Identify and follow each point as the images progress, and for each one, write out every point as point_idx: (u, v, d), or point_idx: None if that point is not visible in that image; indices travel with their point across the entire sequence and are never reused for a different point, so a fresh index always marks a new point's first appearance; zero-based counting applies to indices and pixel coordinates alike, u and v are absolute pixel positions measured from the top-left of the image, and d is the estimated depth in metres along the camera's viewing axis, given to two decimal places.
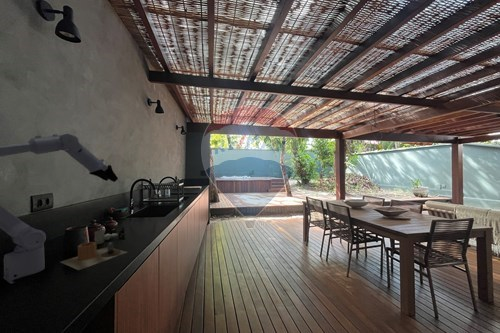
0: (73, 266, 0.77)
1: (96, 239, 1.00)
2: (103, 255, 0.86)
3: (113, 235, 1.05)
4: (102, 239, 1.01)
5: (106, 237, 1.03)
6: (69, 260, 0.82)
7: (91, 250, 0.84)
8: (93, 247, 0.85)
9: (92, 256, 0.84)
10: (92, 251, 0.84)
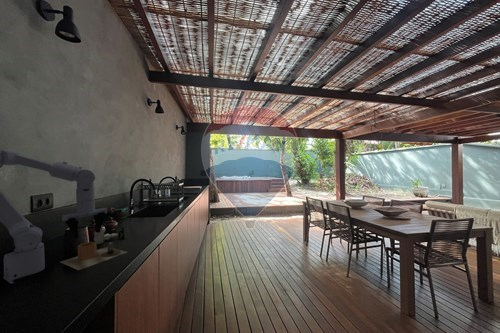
0: (73, 266, 0.77)
1: (96, 239, 1.00)
2: (103, 255, 0.86)
3: (113, 235, 1.05)
4: (102, 239, 1.01)
5: (106, 237, 1.03)
6: (69, 260, 0.82)
7: (91, 250, 0.84)
8: (93, 247, 0.85)
9: (92, 256, 0.84)
10: (92, 251, 0.84)
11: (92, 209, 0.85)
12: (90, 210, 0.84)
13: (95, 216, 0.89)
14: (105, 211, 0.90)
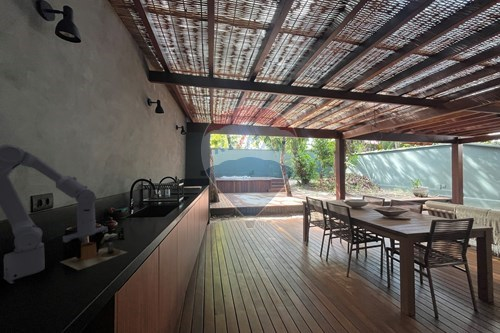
0: (73, 266, 0.77)
1: None
2: (103, 255, 0.86)
3: (112, 235, 1.05)
4: None
5: (105, 237, 1.02)
6: (69, 260, 0.82)
7: (91, 250, 0.84)
8: (93, 247, 0.85)
9: (92, 256, 0.84)
10: (92, 251, 0.84)
11: (93, 229, 0.85)
12: (91, 230, 0.84)
13: (93, 236, 0.88)
14: (106, 230, 0.90)
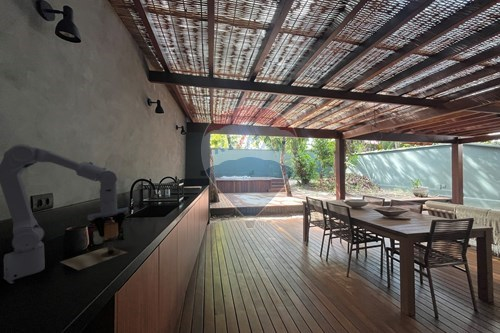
0: (73, 266, 0.77)
1: (95, 239, 1.00)
2: (103, 255, 0.86)
3: None
4: (101, 239, 1.01)
5: None
6: (69, 260, 0.82)
7: (114, 229, 0.87)
8: (115, 226, 0.87)
9: (114, 235, 0.87)
10: (114, 230, 0.87)
11: (115, 209, 0.87)
12: (113, 210, 0.87)
13: (115, 216, 0.91)
14: (126, 211, 0.93)
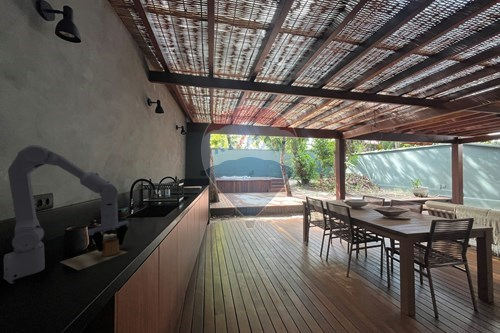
0: (73, 266, 0.77)
1: None
2: None
3: (111, 235, 1.04)
4: None
5: (104, 237, 1.02)
6: (69, 260, 0.82)
7: (114, 246, 0.87)
8: (116, 243, 0.87)
9: (115, 252, 0.87)
10: (115, 247, 0.87)
11: (116, 223, 0.87)
12: (114, 224, 0.87)
13: (117, 229, 0.92)
14: (127, 224, 0.93)
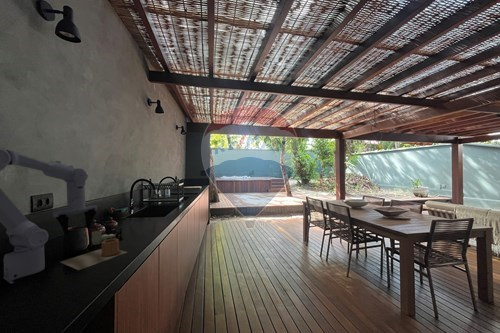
0: (73, 266, 0.77)
1: (93, 240, 0.99)
2: None
3: (110, 236, 1.04)
4: (99, 240, 1.00)
5: (103, 238, 1.02)
6: (69, 260, 0.82)
7: (114, 246, 0.87)
8: (116, 243, 0.87)
9: (115, 252, 0.87)
10: (115, 247, 0.87)
11: (82, 206, 0.89)
12: (80, 207, 0.88)
13: (85, 213, 0.93)
14: (95, 208, 0.94)
